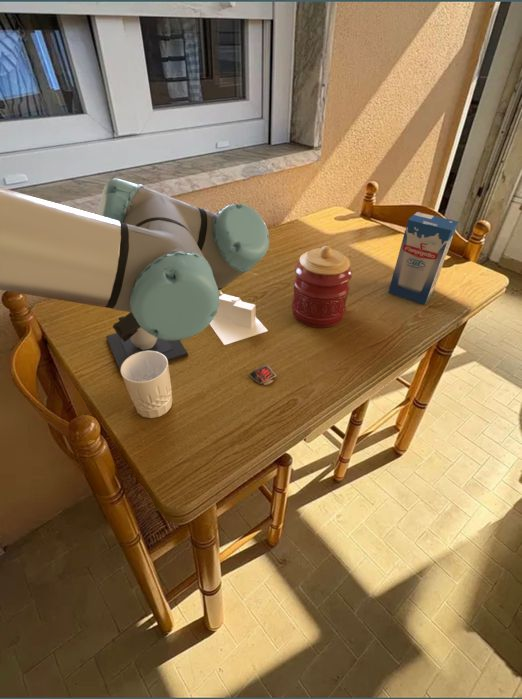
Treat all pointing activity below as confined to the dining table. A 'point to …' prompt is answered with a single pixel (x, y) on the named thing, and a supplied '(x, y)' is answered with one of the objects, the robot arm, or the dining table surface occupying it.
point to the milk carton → (421, 256)
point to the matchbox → (263, 375)
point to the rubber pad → (127, 348)
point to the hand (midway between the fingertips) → (151, 318)
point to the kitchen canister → (321, 287)
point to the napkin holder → (235, 320)
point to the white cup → (148, 383)
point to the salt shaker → (143, 339)
